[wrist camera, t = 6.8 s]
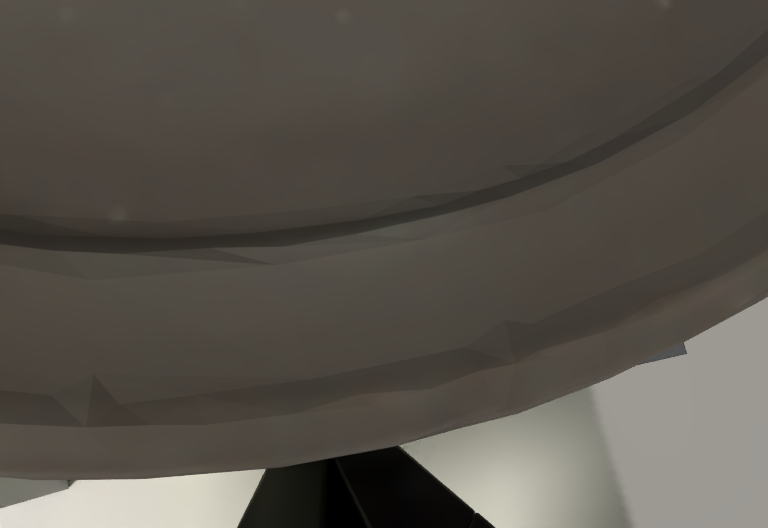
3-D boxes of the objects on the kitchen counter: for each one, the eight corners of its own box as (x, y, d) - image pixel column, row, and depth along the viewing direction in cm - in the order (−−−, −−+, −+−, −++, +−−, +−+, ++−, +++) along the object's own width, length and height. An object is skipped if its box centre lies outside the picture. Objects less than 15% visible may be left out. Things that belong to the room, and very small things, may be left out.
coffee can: (289, 11, 19) (212, -1080, 5) (554, 235, 18) (1315, -406, 4) (11, 251, 16) (-1621, -712, 3) (303, 531, 15) (166, 1405, 2)
